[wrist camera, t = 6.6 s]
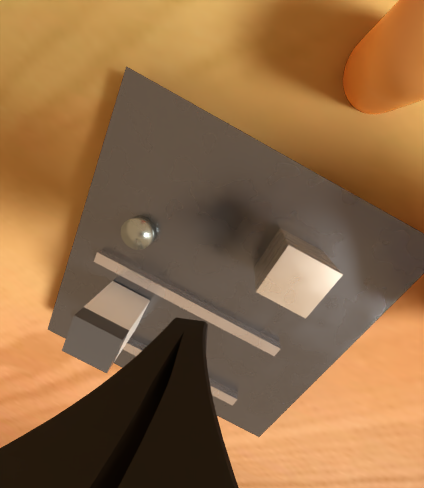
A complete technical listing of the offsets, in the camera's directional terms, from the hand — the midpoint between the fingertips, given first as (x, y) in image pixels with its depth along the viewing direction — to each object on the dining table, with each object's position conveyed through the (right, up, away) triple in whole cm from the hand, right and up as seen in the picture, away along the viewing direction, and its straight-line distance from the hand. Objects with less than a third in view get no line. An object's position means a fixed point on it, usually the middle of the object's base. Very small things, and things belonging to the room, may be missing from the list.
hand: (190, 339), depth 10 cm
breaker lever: (-6, -1, +8) cm, 10 cm away
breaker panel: (+1, +1, +8) cm, 9 cm away
